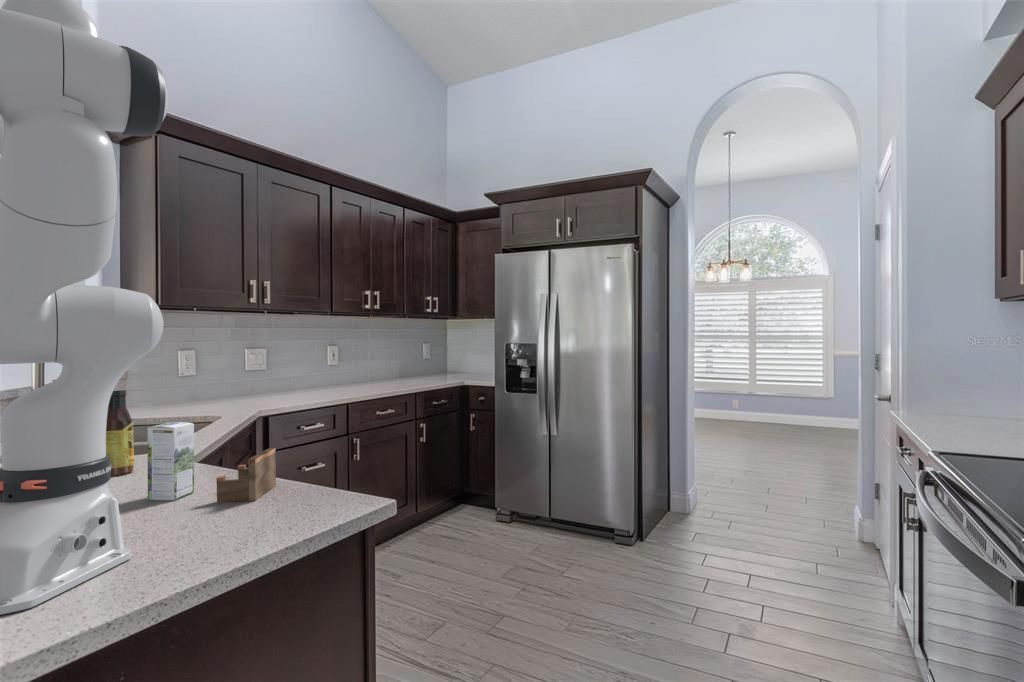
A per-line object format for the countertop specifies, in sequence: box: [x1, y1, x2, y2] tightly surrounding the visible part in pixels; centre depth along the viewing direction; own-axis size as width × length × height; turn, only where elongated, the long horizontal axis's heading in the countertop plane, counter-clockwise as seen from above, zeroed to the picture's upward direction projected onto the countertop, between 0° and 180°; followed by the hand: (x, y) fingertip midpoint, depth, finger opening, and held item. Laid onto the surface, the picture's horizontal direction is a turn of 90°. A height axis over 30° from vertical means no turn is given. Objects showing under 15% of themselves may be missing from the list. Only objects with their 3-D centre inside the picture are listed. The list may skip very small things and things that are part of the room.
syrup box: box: [147, 421, 195, 502], centre depth 106 cm, size 6×6×14 cm
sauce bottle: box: [106, 388, 135, 477], centre depth 126 cm, size 7×6×20 cm
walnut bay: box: [216, 447, 277, 503], centre depth 107 cm, size 11×7×8 cm
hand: (43, 252), depth 102 cm, fingers open, 8 cm apart
